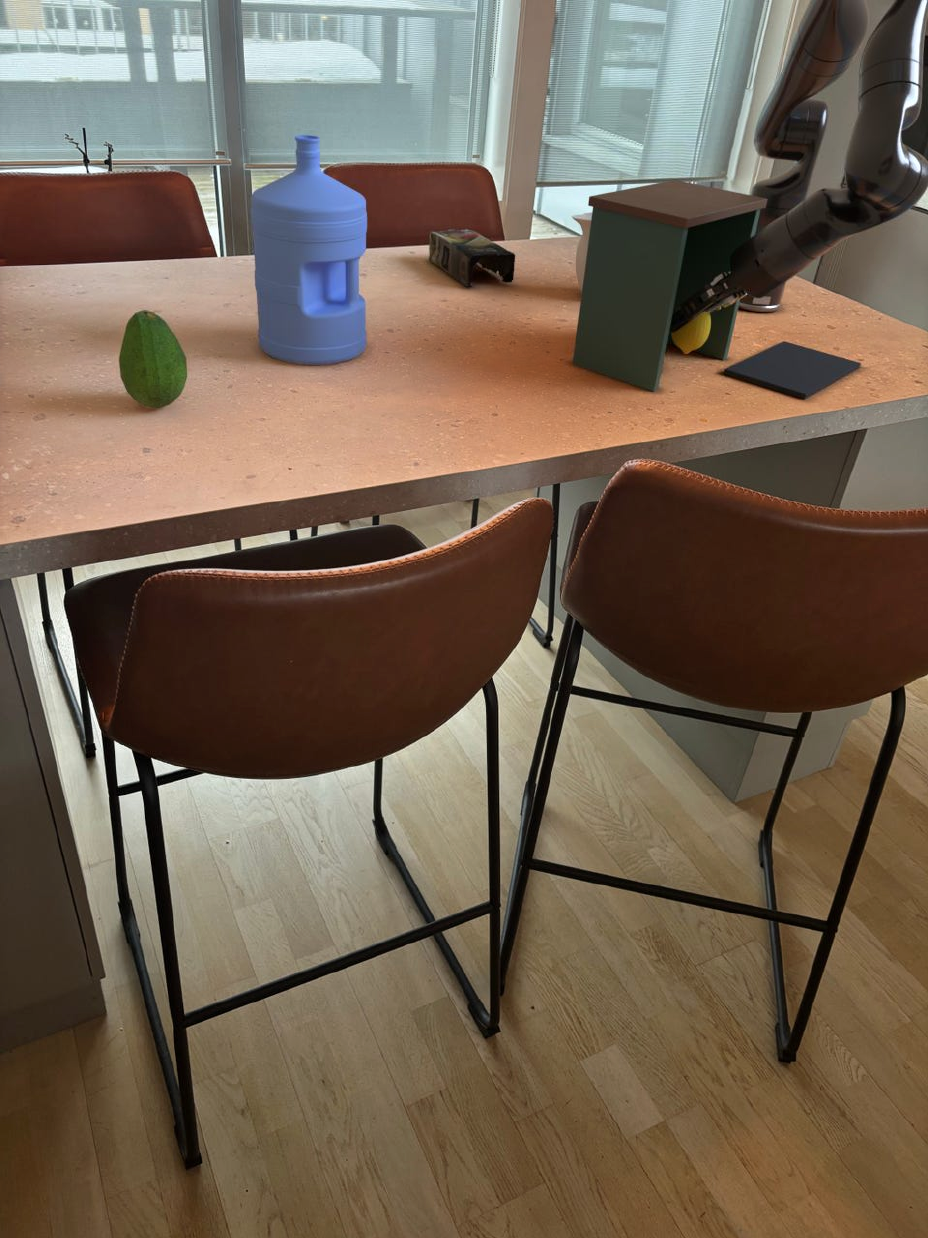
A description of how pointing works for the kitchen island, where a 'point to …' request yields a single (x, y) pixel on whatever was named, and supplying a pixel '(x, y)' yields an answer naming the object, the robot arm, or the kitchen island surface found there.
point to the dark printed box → (469, 255)
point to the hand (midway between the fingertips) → (680, 322)
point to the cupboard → (656, 273)
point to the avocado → (152, 361)
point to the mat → (793, 369)
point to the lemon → (693, 333)
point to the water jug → (309, 264)
